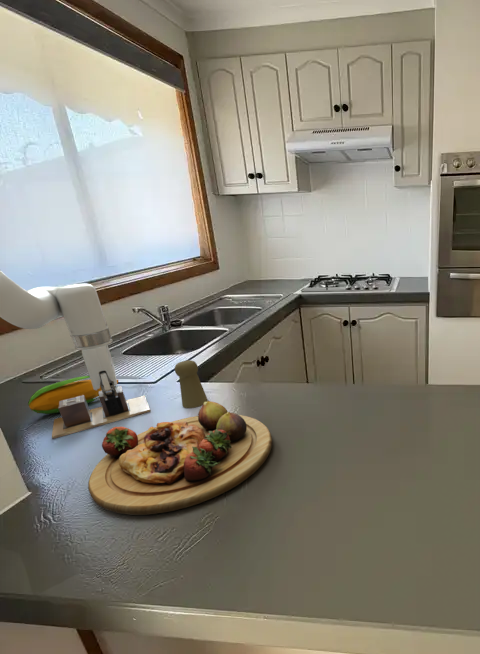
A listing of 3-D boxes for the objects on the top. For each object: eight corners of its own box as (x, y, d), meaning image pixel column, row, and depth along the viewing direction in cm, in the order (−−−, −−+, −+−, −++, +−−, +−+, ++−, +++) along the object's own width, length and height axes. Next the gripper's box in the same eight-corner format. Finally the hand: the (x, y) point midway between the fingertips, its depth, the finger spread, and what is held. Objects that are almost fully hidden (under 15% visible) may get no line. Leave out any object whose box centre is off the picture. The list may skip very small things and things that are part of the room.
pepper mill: (192, 409, 102) (181, 367, 98) (177, 405, 106) (165, 364, 102) (212, 399, 107) (203, 359, 103) (197, 396, 110) (187, 356, 106)
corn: (20, 387, 104) (109, 362, 117) (31, 414, 107) (117, 387, 120) (25, 396, 99) (118, 370, 112) (37, 424, 102) (126, 395, 115)
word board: (52, 439, 94) (51, 436, 93) (55, 421, 102) (53, 418, 102) (150, 411, 103) (149, 409, 103) (145, 397, 112) (144, 394, 112)
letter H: (65, 427, 97) (58, 407, 95) (66, 419, 101) (59, 400, 99) (91, 420, 100) (83, 401, 98) (90, 413, 103) (83, 394, 102)
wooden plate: (47, 500, 73) (29, 459, 70) (184, 415, 100) (175, 383, 97) (194, 537, 62) (180, 490, 58) (302, 430, 89) (296, 394, 86)
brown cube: (105, 416, 101) (98, 397, 99) (104, 409, 105) (98, 390, 103) (128, 410, 103) (122, 391, 102) (127, 403, 107) (121, 385, 106)
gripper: (73, 334, 102) (97, 402, 109) (72, 351, 89) (99, 427, 96) (108, 328, 106) (130, 393, 113) (112, 342, 92) (136, 416, 99)
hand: (116, 408), depth 104 cm, fingers closed on brown cube, 5 cm apart
